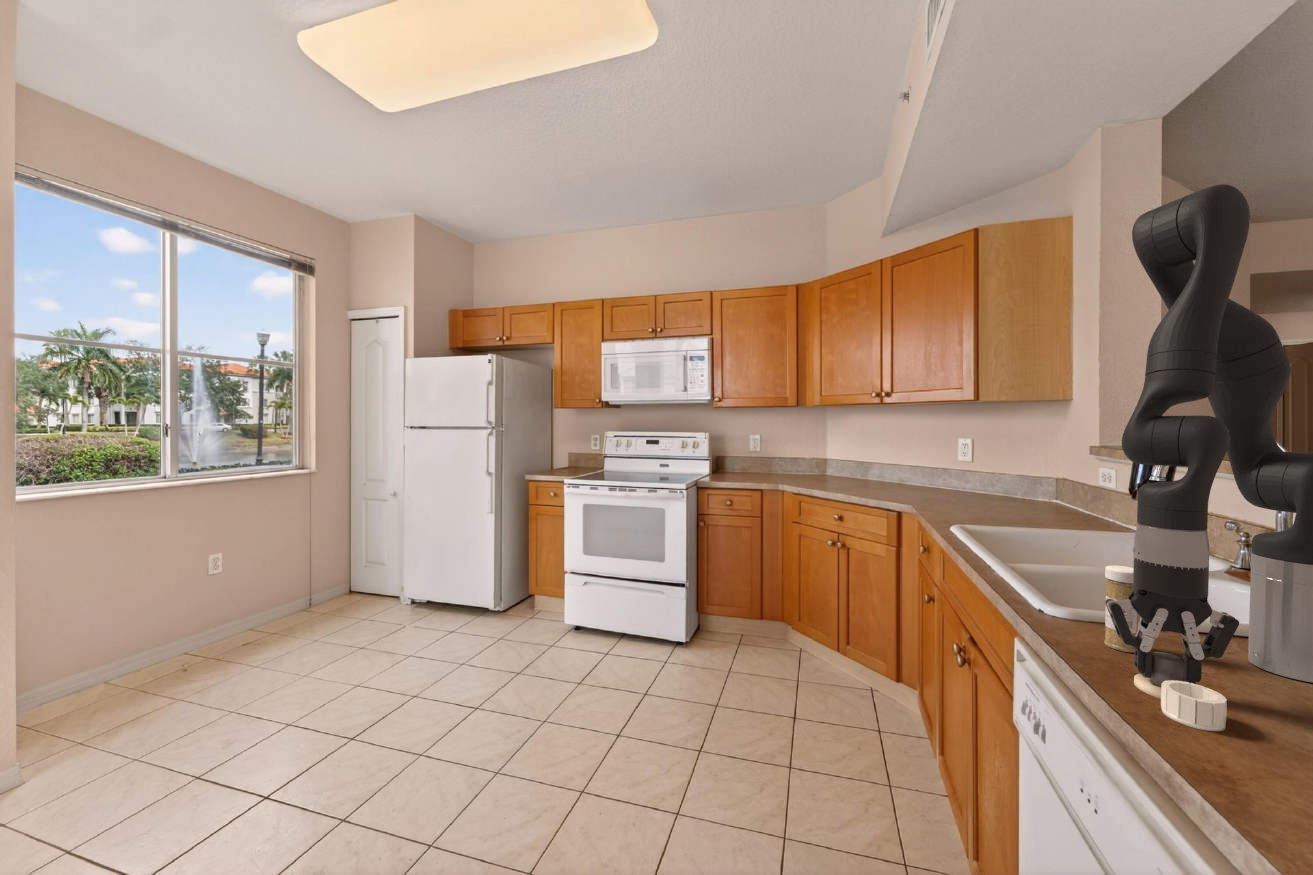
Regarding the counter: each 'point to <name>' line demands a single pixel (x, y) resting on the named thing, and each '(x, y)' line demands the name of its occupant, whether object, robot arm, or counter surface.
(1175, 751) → the counter surface
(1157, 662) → the lid
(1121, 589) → the sprinkles bottle
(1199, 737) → the counter surface
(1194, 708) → the bowl
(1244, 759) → the counter surface
